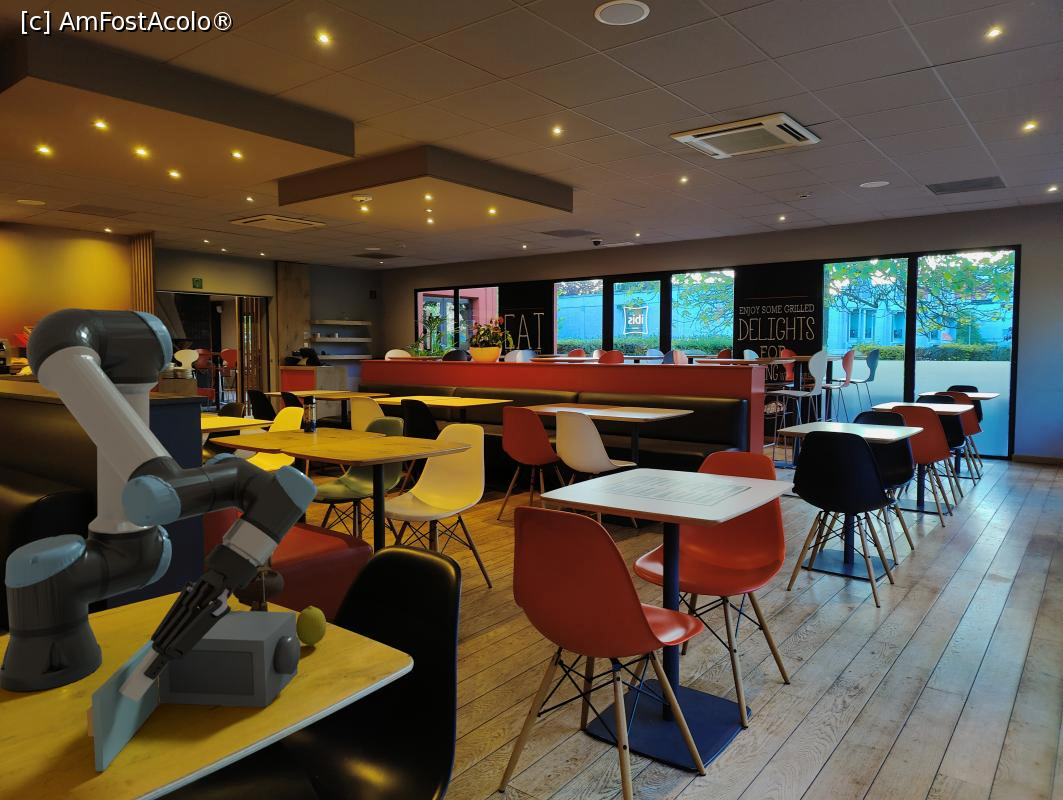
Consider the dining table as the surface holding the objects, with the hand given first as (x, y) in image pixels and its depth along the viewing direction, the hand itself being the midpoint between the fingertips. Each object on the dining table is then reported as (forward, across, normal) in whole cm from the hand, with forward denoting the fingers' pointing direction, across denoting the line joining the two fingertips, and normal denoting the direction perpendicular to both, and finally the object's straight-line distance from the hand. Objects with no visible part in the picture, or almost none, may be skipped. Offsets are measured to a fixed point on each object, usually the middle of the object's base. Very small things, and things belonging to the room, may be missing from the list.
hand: (127, 695), depth 100 cm
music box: (-14, +22, -26) cm, 37 cm away
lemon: (-19, +15, -31) cm, 39 cm away
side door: (+5, +5, -6) cm, 10 cm away
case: (-7, +8, -19) cm, 22 cm away
